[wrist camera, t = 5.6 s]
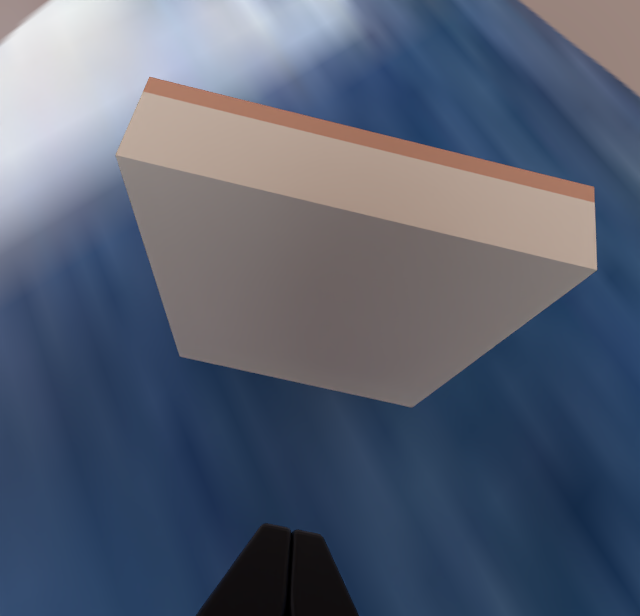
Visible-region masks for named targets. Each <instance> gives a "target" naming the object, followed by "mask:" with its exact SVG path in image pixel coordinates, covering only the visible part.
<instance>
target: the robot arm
mask: <svg viewBox="0 0 640 616" xmlns="http://www.w3.org/2000/svg"><path fill="white" fill-rule="evenodd" d="M196 616H359V614H358V612H357V610H356V608H355V606H354V604H353V601H352V599H351V597H350V595H349V593H348V590H347V588H346V586H345V584H344V582H343V579H342V577H341V575H340V573H339V571H338V568H337V566H336V564H335V562H334V560H333V558H332V555H331V553H330V551H329V549H328V547H327V544H326V542H325V540H324V538H323V537H322V536H321V535H320V534H317V533H312V532H307V531H302V530H294V531H293V532H292V533H291V530H290V529H289V528H287V527H283V526H278V525H273V524H268V523H265V524H262V525H261V526H260V527H259V529H258V530H257V531H256V533H255V534H254V536H253V537H252V538H251V540H250V541H249V543H248V544H247V545H246V547H245V548H244V549H243V551H242V552H241V554H240V555H239V556H238V558H237V559H236V561H235V562H234V563H233V565H232V566H231V567H230V569H229V570H228V572H227V573H226V574H225V576H224V577H223V578H222V580H221V581H220V583H219V584H218V585H217V587H216V588H215V590H214V591H213V592H212V594H211V595H210V596H209V598H208V599H207V601H206V602H205V603H204V605H203V606H202V608H201V609H200V610H199V612H198V613H197V614H196Z"/></svg>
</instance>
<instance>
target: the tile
mask: <svg viewBox="0 0 640 616" xmlns="http://www.w3.org/2000/svg"><path fill="white" fill-rule="evenodd" d="M116 158H117V161H118V164H119V167H120V171H121V174H122V177H123V180H124V183H125V186H126V189H127V193H128V196H129V199H130V202H131V205H132V208H133V211H134V215H135V218H136V221H137V224H138V227H139V230H140V233H141V237H142V240H143V243H144V246H145V249H146V252H147V255H148V259H149V262H150V265H151V268H152V271H153V274H154V277H155V280H156V284H157V287H158V290H159V293H160V296H161V299H162V302H163V306H164V309H165V312H166V315H167V318H168V321H169V324H170V328H171V331H172V334H173V337H174V340H175V343H176V346H177V350H178V353H179V356H180V357H184V358H189V359H193V360H198V361H202V362H207V363H211V364H216V365H220V366H225V367H230V368H234V369H239V370H243V371H248V372H252V373H257V374H261V375H266V376H271V377H275V378H280V379H284V380H289V381H293V382H298V383H302V384H307V385H312V386H316V387H321V388H325V389H330V390H334V391H339V392H343V393H348V394H353V395H357V396H362V397H366V398H371V399H375V400H380V401H384V402H389V403H394V404H398V405H403V406H407V407H414V406H415V405H416V404H418V403H419V402H420V401H422V400H423V399H424V398H426V397H427V396H428V395H430V394H431V393H432V392H434V391H435V390H437V389H438V388H439V387H441V386H442V385H443V384H445V383H446V382H447V381H449V380H450V379H451V378H453V377H454V376H455V375H457V374H458V373H459V372H461V371H462V370H463V369H465V368H466V367H467V366H469V365H470V364H471V363H473V362H474V361H476V360H477V359H478V358H480V357H481V356H482V355H484V354H485V353H486V352H488V351H489V350H490V349H492V348H493V347H494V346H496V345H497V344H498V343H500V342H501V341H502V340H504V339H505V338H506V337H508V336H509V335H510V334H512V333H513V332H515V331H516V330H517V329H519V328H520V327H521V326H523V325H524V324H525V323H527V322H528V321H529V320H531V319H532V318H533V317H535V316H536V315H537V314H539V313H540V312H541V311H543V310H544V309H545V308H547V307H548V306H549V305H551V304H552V303H554V302H555V301H556V300H558V299H559V298H560V297H562V296H563V295H564V294H566V293H567V292H568V291H570V290H571V289H572V288H574V287H575V286H576V285H578V284H579V283H580V282H582V281H583V280H584V279H586V278H587V277H588V276H590V275H591V274H593V273H594V272H595V271H597V253H596V226H595V200H594V187H592V186H588V185H584V184H580V183H576V182H572V181H568V180H564V179H560V178H556V177H552V176H548V175H544V174H540V173H536V172H532V171H527V170H523V169H519V168H515V167H511V166H507V165H503V164H499V163H495V162H491V161H487V160H483V159H479V158H475V157H471V156H467V155H463V154H459V153H455V152H451V151H447V150H443V149H439V148H435V147H431V146H427V145H423V144H419V143H415V142H410V141H406V140H402V139H398V138H394V137H390V136H386V135H382V134H378V133H374V132H370V131H366V130H362V129H358V128H354V127H350V126H346V125H342V124H338V123H334V122H330V121H326V120H322V119H318V118H314V117H310V116H306V115H302V114H297V113H293V112H289V111H285V110H281V109H277V108H273V107H269V106H265V105H261V104H257V103H253V102H249V101H245V100H241V99H237V98H233V97H229V96H225V95H221V94H217V93H213V92H209V91H205V90H201V89H197V88H193V87H189V86H185V85H180V84H176V83H172V82H168V81H164V80H160V79H156V78H152V77H149V79H148V81H147V84H146V86H145V88H144V91H143V93H142V95H141V98H140V100H139V102H138V104H137V107H136V109H135V111H134V114H133V116H132V118H131V121H130V123H129V125H128V128H127V130H126V132H125V134H124V137H123V139H122V141H121V144H120V146H119V148H118V151H117V153H116Z"/></svg>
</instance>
